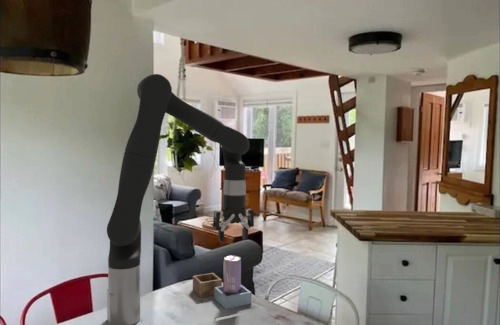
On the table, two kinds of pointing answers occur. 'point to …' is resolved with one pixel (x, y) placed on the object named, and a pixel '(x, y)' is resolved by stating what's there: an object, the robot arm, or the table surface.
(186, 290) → the table surface
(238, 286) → the beverage can
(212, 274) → the walnut box
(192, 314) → the table surface
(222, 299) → the tray
